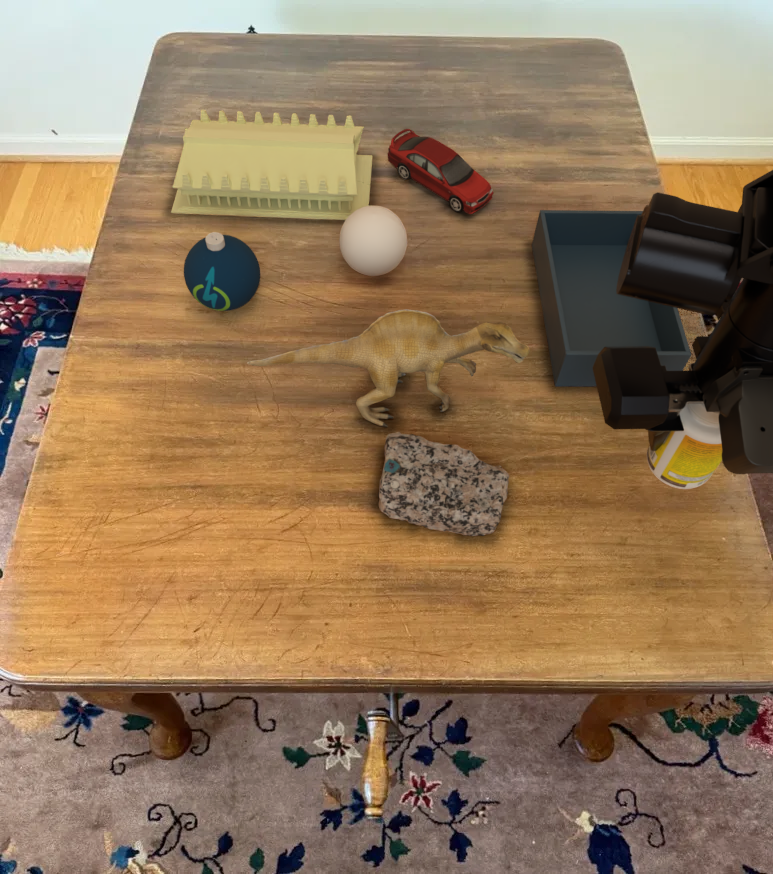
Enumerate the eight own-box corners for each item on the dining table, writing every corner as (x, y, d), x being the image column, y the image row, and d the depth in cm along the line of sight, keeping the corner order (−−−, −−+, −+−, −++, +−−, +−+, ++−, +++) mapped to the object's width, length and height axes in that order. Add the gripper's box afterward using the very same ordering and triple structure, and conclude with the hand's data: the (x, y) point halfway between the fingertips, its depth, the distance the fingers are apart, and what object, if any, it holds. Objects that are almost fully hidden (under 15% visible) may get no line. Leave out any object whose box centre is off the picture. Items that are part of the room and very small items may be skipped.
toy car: (413, 150, 102) (415, 118, 98) (494, 204, 97) (500, 172, 92) (384, 168, 100) (384, 135, 96) (465, 224, 94) (470, 191, 90)
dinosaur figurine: (514, 416, 78) (538, 332, 67) (262, 438, 76) (244, 356, 65) (499, 359, 83) (520, 272, 71) (260, 379, 81) (243, 292, 69)
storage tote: (673, 387, 81) (691, 355, 76) (554, 386, 81) (566, 354, 76) (634, 245, 93) (648, 210, 88) (531, 245, 93) (539, 209, 88)
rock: (368, 521, 72) (368, 499, 68) (386, 446, 76) (387, 422, 72) (497, 546, 70) (505, 525, 67) (508, 469, 75) (515, 445, 71)
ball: (336, 288, 88) (334, 236, 81) (343, 241, 92) (341, 188, 86) (404, 292, 88) (407, 240, 81) (407, 245, 92) (410, 192, 86)
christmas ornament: (176, 305, 86) (156, 239, 78) (225, 263, 90) (210, 196, 82) (231, 337, 84) (216, 273, 75) (279, 293, 87) (269, 227, 79)
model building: (372, 155, 102) (372, 107, 96) (367, 222, 94) (367, 175, 88) (190, 148, 102) (179, 99, 96) (171, 214, 94) (157, 167, 88)
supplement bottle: (724, 475, 63) (775, 405, 54) (672, 502, 62) (715, 435, 53) (682, 426, 66) (724, 353, 57) (631, 451, 64) (666, 380, 56)
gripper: (659, 422, 44) (593, 536, 57) (969, 418, 44) (832, 532, 57) (621, 284, 50) (569, 416, 63) (894, 282, 50) (786, 413, 63)
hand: (687, 445), depth 61 cm, fingers closed on supplement bottle, 6 cm apart
